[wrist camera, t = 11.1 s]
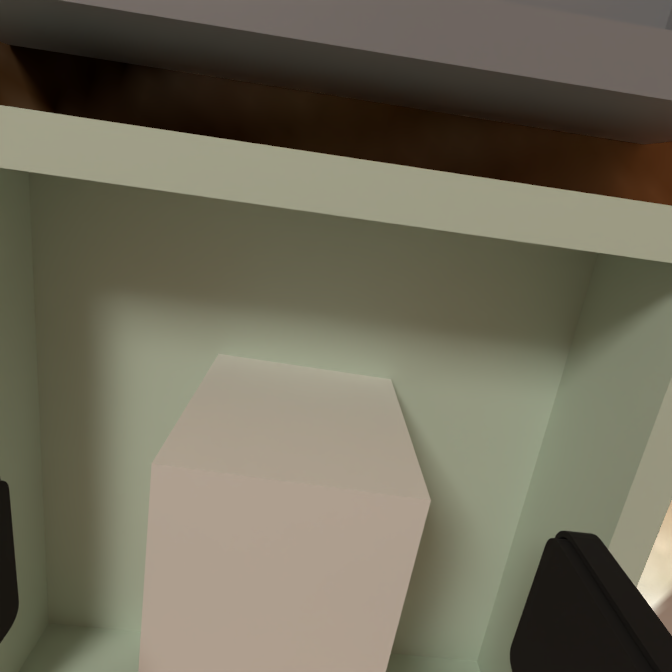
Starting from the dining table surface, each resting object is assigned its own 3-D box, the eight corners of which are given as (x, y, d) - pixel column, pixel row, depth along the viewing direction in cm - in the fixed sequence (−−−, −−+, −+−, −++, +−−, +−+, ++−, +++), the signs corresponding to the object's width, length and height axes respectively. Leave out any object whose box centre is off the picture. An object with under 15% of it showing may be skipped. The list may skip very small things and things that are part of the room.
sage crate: (11, 116, 12) (-176, 78, 7) (624, 207, 12) (783, 222, 8) (37, 616, 16) (-69, 776, 12) (488, 655, 17) (543, 817, 13)
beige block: (218, 353, 12) (151, 463, 8) (391, 379, 13) (430, 500, 8) (201, 519, 14) (136, 699, 9) (356, 539, 14) (372, 723, 9)
